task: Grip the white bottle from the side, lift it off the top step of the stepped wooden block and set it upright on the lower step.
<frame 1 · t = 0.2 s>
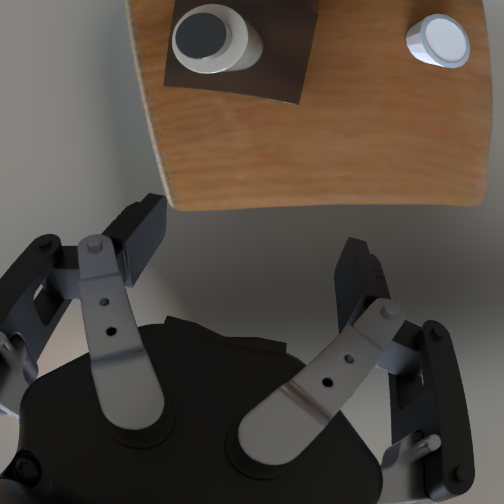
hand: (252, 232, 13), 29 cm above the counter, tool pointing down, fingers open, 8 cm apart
stepped wooden block: (257, 10, 28), on the counter
white bottle: (236, 46, 24), point 10 cm above the counter, touching stepped wooden block
white short tapered cylinder: (424, 43, 27), on the counter
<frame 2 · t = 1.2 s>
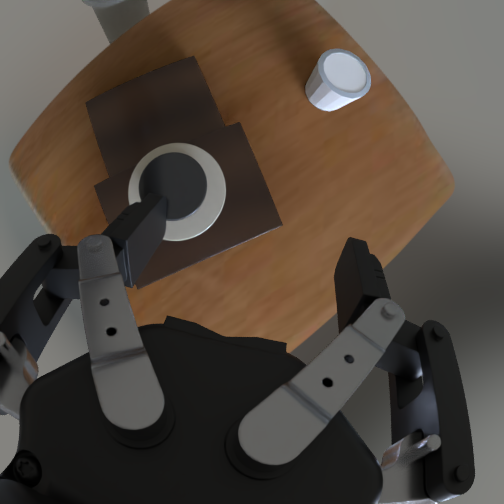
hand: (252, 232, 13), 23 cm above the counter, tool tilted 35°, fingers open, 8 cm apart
stepped wooden block: (171, 160, 34), on the counter
white bottle: (186, 203, 25), point 10 cm above the counter, touching gripper, stepped wooden block
white short tapered cylinder: (324, 92, 36), on the counter
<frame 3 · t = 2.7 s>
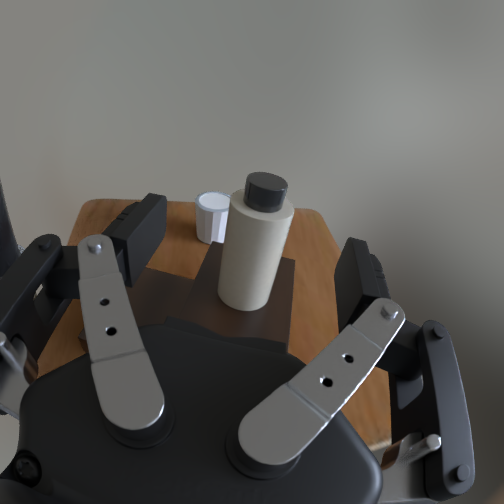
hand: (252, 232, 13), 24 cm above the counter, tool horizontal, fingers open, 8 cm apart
stepped wooden block: (184, 335, 36), on the counter
white bottle: (243, 291, 30), point 10 cm above the counter, touching stepped wooden block
white short tapered cylinder: (212, 235, 54), on the counter
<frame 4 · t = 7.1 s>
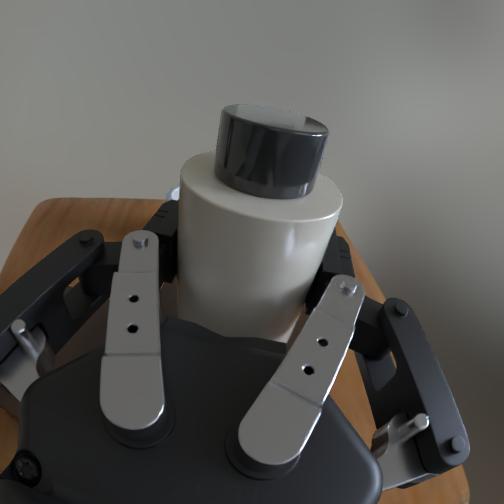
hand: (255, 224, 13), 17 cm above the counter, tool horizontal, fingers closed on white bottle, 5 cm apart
stepped wooden block: (143, 399, 21), on the counter
white bottle: (227, 356, 15), point 10 cm above the counter, touching gripper, stepped wooden block
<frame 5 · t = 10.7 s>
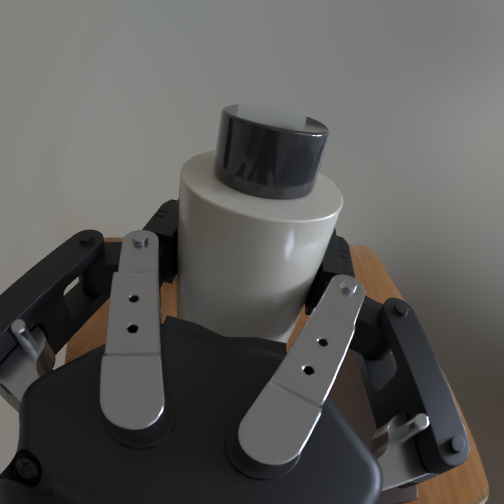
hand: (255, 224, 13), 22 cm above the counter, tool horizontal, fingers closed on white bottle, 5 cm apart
stepped wooden block: (255, 447, 25), on the counter
white bottle: (227, 356, 15), point 16 cm above the counter, touching gripper
when the fingers open (10 cm above the counter, at t = 14.7 s): white bottle stays where it is, resting on stepped wooden block.
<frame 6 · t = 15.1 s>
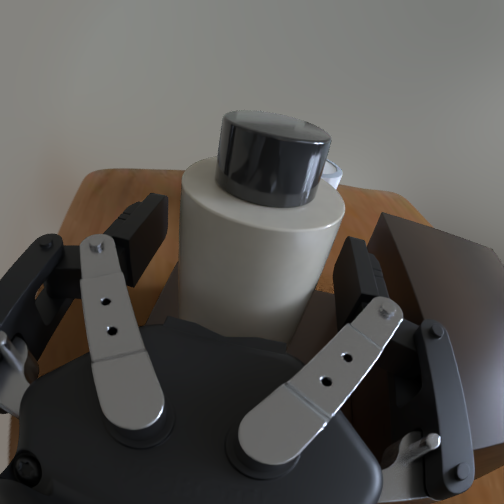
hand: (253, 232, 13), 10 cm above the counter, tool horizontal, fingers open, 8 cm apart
stepped wooden block: (316, 400, 17), on the counter
white bottle: (228, 360, 15), point 3 cm above the counter, touching stepped wooden block
white short tapered cylinder: (296, 219, 35), on the counter
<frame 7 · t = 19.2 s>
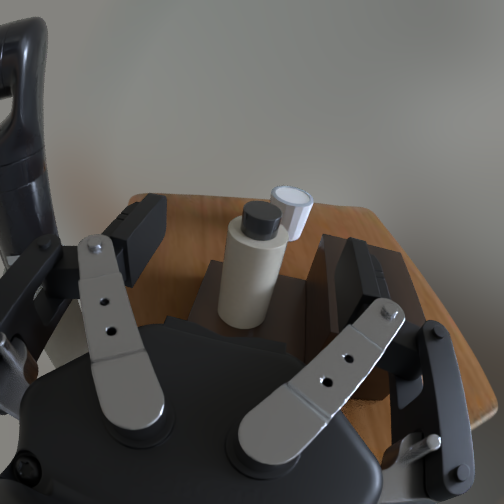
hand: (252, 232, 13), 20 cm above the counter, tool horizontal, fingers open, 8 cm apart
stepped wooden block: (289, 337, 33), on the counter
white bottle: (241, 310, 32), point 3 cm above the counter, touching stepped wooden block
white short tapered cylinder: (283, 232, 51), on the counter
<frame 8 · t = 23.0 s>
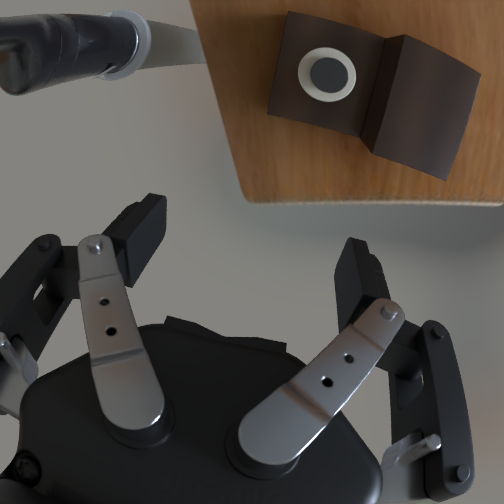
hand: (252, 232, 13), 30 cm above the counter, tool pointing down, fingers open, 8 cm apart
stepped wooden block: (361, 83, 33), on the counter
white bottle: (319, 71, 30), point 3 cm above the counter, touching stepped wooden block
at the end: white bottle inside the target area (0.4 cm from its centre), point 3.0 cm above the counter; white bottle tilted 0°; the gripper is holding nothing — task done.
